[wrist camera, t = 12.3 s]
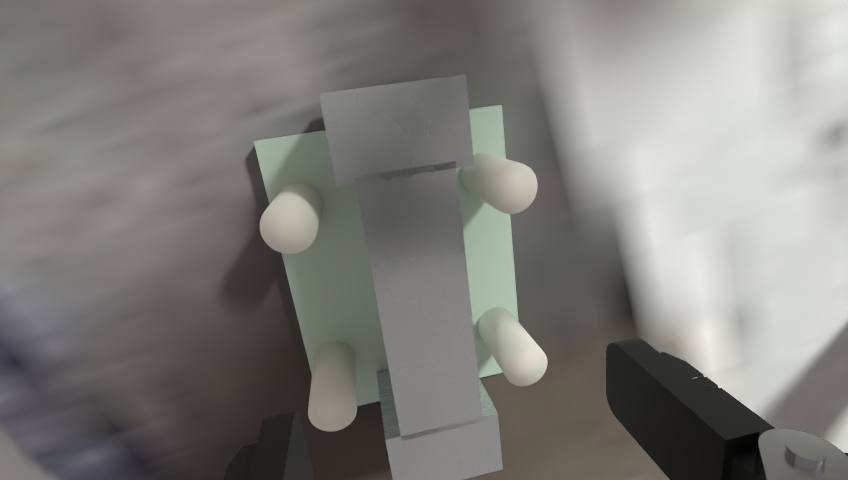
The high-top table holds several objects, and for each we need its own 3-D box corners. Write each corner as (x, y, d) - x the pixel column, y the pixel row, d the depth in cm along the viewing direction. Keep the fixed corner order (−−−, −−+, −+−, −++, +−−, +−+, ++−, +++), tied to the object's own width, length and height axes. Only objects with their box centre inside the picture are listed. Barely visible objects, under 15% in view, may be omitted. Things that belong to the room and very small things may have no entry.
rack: (257, 140, 19) (230, 148, 15) (494, 105, 21) (539, 103, 16) (322, 402, 23) (317, 475, 19) (515, 358, 25) (555, 415, 20)
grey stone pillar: (324, 98, 18) (318, 93, 14) (434, 84, 19) (465, 74, 14) (385, 418, 23) (395, 496, 19) (471, 399, 24) (502, 469, 19)
